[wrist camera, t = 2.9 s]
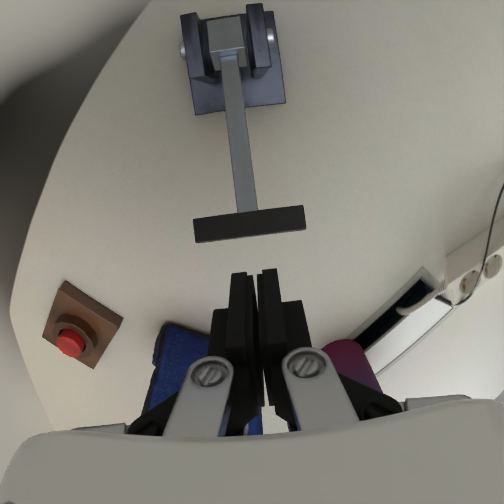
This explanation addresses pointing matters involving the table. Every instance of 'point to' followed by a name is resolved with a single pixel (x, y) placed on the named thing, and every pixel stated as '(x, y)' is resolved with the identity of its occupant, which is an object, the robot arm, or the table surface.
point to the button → (70, 343)
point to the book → (179, 367)
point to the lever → (240, 149)
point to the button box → (82, 322)
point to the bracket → (252, 76)
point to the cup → (352, 362)
